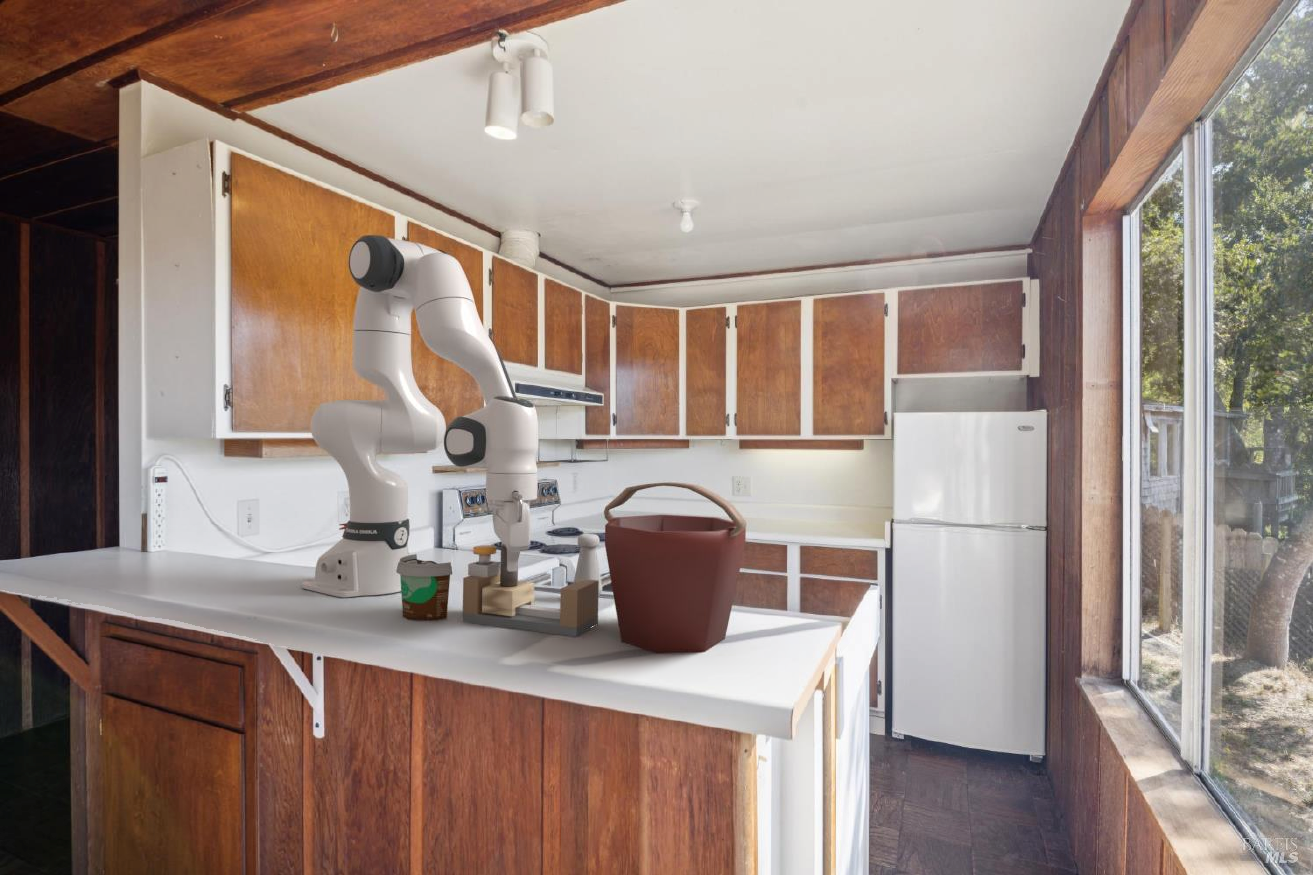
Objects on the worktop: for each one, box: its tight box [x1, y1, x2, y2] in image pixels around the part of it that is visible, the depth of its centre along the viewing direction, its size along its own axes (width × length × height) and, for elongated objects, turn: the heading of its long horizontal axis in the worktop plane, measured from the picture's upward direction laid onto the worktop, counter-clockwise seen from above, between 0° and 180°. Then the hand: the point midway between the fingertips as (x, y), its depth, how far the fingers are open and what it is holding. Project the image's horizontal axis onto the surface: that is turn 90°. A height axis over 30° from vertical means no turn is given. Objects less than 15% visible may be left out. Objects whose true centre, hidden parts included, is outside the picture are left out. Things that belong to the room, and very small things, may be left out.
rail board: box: [462, 560, 599, 638], centre depth 112 cm, size 22×8×10 cm, turn 70°
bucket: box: [603, 481, 747, 654], centre depth 106 cm, size 24×22×25 cm
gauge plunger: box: [472, 544, 497, 565], centre depth 115 cm, size 4×4×3 cm
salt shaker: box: [573, 533, 603, 599], centre depth 128 cm, size 6×6×13 cm
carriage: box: [482, 544, 535, 616], centre depth 114 cm, size 6×7×11 cm
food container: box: [396, 553, 453, 622], centre depth 114 cm, size 12×6×10 cm, turn 50°
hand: (510, 568), depth 114 cm, fingers closed on carriage, 3 cm apart
